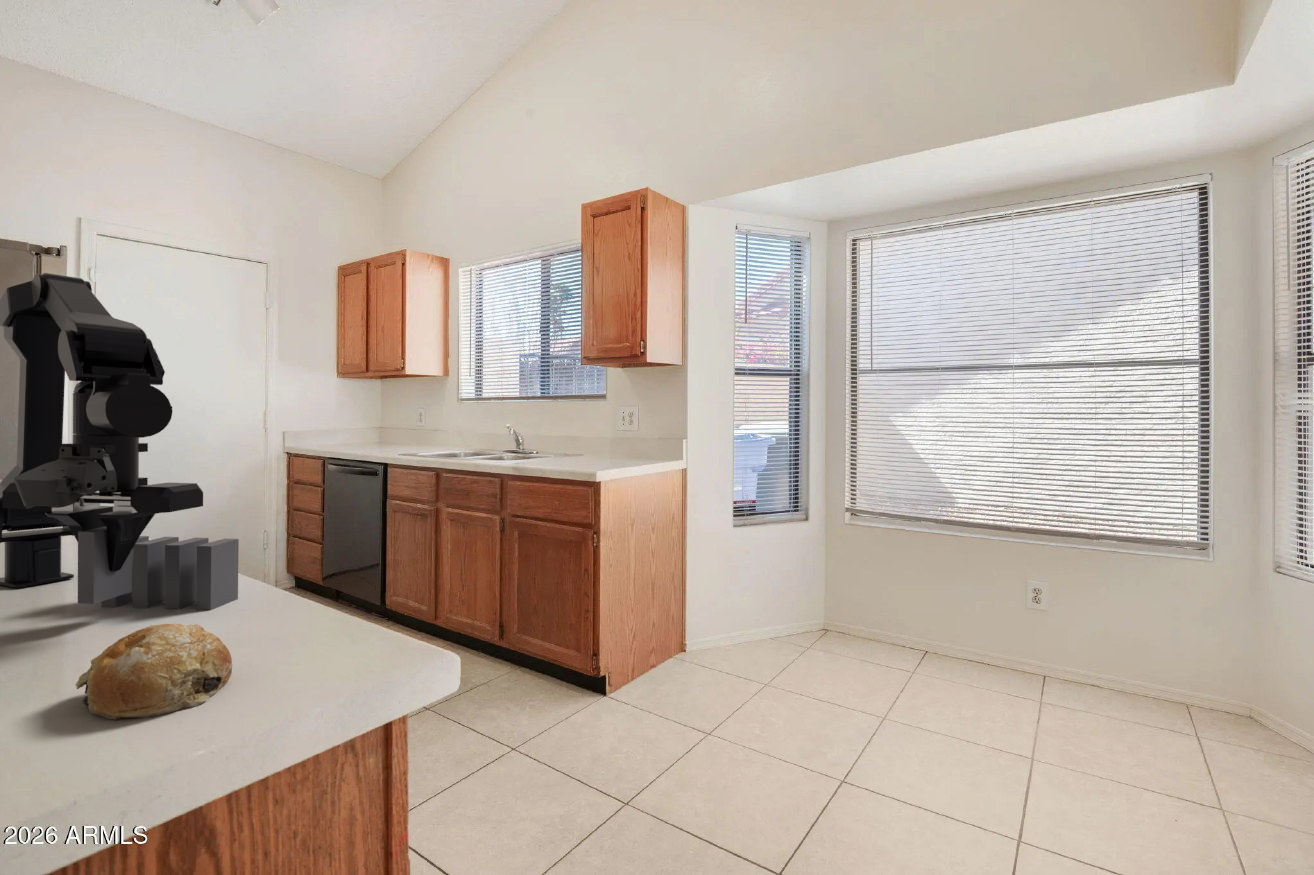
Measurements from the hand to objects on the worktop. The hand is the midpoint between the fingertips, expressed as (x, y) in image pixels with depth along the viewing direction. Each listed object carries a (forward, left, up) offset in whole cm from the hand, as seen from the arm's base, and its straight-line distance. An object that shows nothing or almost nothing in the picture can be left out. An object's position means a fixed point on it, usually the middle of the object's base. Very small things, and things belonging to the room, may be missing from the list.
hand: (105, 570), depth 72 cm
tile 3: (-4, +8, -6) cm, 11 cm away
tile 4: (0, +9, -6) cm, 11 cm away
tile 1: (0, 0, -3) cm, 3 cm away
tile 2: (-8, +6, -6) cm, 12 cm away
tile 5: (+4, +10, -6) cm, 13 cm away
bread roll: (+25, -9, -6) cm, 27 cm away
